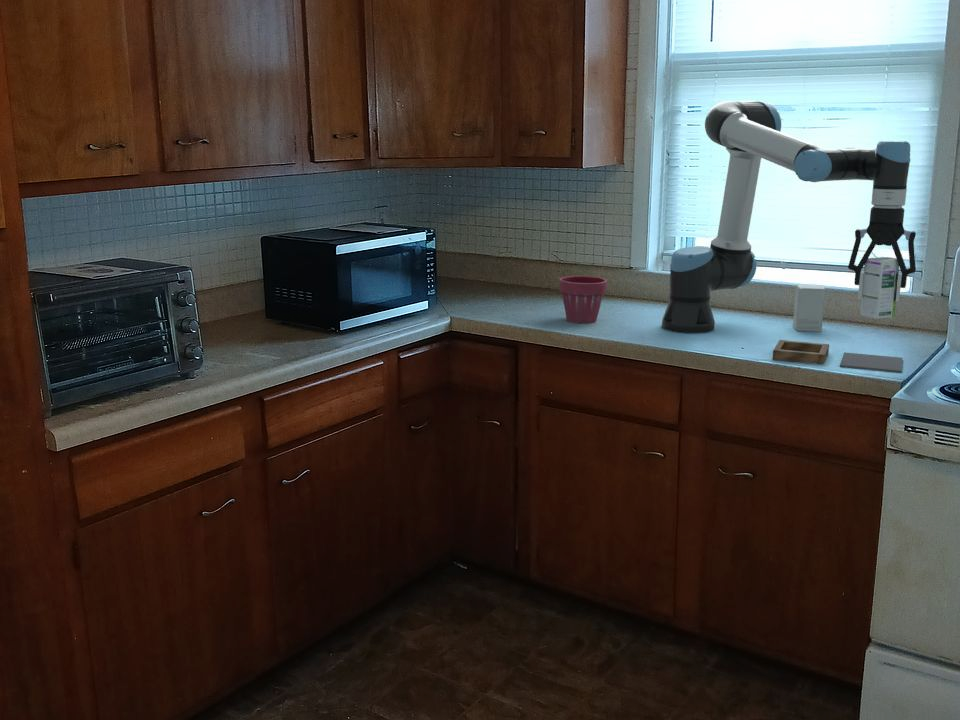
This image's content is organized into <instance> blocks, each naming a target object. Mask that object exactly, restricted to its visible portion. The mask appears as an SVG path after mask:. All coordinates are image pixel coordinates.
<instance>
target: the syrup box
mask: <svg viewBox="0 0 960 720" xmlns="http://www.w3.org/2000/svg"><path fill="white" fill-rule="evenodd" d="M863 267H864V268H863V272H864V276H863V288H862V298H861V299H860V300H861V302H860V303H861V304H860V315H861V316H863V317H865V318H872V319H875V320H879V319H888V318H894V317H895V313H896V304H897V302H896V293H897V284H898V275H899V271H900V267H899V264H898V261H897V258H896V257H891V256H890V257H888V256H881V257H880V256H879V257H868V259H867V261H866V263H865V264H864V266H863Z"/></svg>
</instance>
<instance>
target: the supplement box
mask: <svg viewBox="0 0 960 720" xmlns="http://www.w3.org/2000/svg"><path fill="white" fill-rule="evenodd" d="M794 296H795V297H794V308H793V319H792V326H793V328H794V330H795V331H797V332H798V331H799V332H817V333H818V332H822V331H823V320H824V310H825V309H824V308H825V298H826V297H825V296H826V288H825V286H823V285H822V284H796V285H795V293H794Z"/></svg>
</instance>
